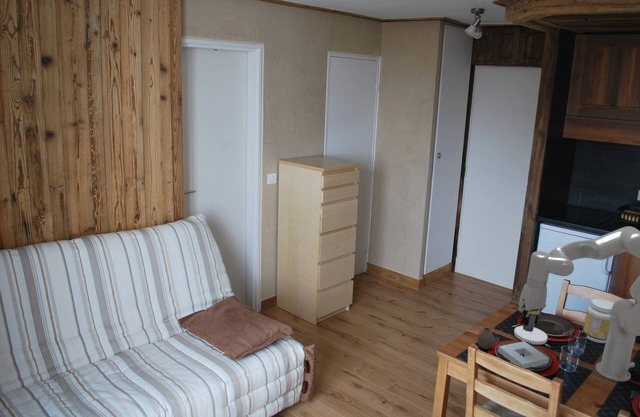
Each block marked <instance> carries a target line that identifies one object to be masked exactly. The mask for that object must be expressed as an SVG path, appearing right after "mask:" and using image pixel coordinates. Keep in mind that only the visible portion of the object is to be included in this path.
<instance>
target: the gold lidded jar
mask: <svg viewBox="0 0 640 417" xmlns="http://www.w3.org/2000/svg"><path fill="white" fill-rule="evenodd" d="M525 312H526V313H527V310H525ZM539 312H540V310H537V309H536V310H531V311H530V312H529V316H528V317H529V323H528V326H525V325H524V324H522V326H523V329H524V330H525V331H528V332H532V331H533V329H534V328H535V319H536V315H537V314H539ZM540 313H541V312H540Z"/></svg>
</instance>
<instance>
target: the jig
mask: <svg viewBox="0 0 640 417" xmlns="http://www.w3.org/2000/svg"><path fill="white" fill-rule="evenodd" d="M497 348H498V349H497V353H498V352H499V353H500V354H502V355H503V356H504V357H505V358H507V359H508V360H510V362H511V363H513V364H515V365H518V366H521V367H523V368H529V367H537V366H540V365H543V364H546V363H548V364H549V361H550V358H549V357H548V356H547V355H546V354H544V353H542V352H541V351H539V350H537V349H536V348H535V347H534V346H532V344H530V343H527V342H525V341H520V342H519V341H518V342H514V343H509V344H504V345H499V346H498V347H497ZM520 354H524V355H525V356H524V357H523V356H522V355H520Z"/></svg>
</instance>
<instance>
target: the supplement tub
mask: <svg viewBox="0 0 640 417" xmlns="http://www.w3.org/2000/svg"><path fill="white" fill-rule="evenodd" d="M614 303H615V302H614ZM614 303H613V302H612V301H609V300H607V299H601V298H593V299H592V300H591V301H590V305H588V306H587V309H586V314H585V318H584V323H583V328H582V333H583V332H585V333H586V334H587V338H586V339H588V340H590V341H592V342H595V343H599V344H606V340H607V335H608V331H609V326H610V316H611V309H612V306H613V304H614Z"/></svg>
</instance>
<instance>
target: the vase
mask: <svg viewBox="0 0 640 417" xmlns="http://www.w3.org/2000/svg"><path fill="white" fill-rule="evenodd" d="M476 339H477V340H476V342H477V343H476V344H477V345H478V347H479V348H480V349H483V350H490V347H491V348H492V347H493V345H494V342H495V337H494V334H493V332H492V331H491V328H490V327H484V328H483V329H482V330H481V331H480V332H479V333H478V334H477V338H476Z"/></svg>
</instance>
